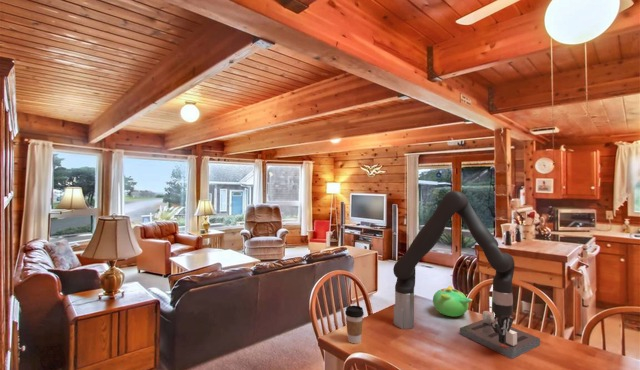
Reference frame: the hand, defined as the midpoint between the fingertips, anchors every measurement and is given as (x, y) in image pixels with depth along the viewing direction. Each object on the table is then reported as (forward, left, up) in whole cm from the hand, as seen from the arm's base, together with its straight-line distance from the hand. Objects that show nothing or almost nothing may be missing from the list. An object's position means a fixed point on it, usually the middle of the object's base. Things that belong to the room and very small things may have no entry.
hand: (502, 342), depth 130 cm
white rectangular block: (+6, 0, -2) cm, 6 cm away
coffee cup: (-47, +40, -5) cm, 62 cm away
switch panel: (+11, +8, -5) cm, 15 cm away
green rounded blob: (+14, +36, -5) cm, 39 cm away
